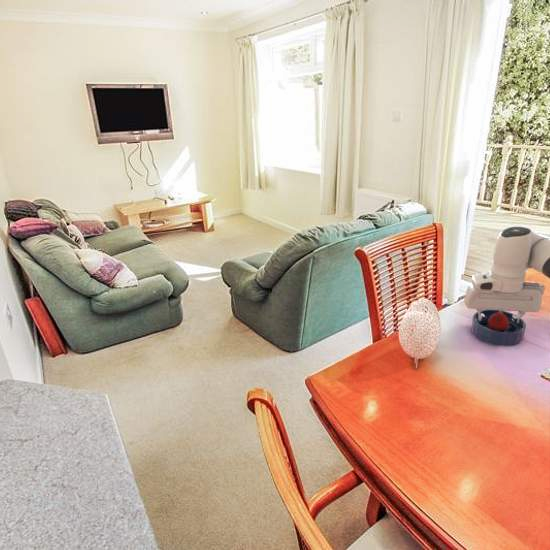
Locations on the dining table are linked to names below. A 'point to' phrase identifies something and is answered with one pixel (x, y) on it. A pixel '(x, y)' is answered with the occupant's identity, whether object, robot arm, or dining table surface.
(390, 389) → the dining table surface
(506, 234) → the robot arm
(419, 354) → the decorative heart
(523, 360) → the dining table surface
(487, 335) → the bowl
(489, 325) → the onion
